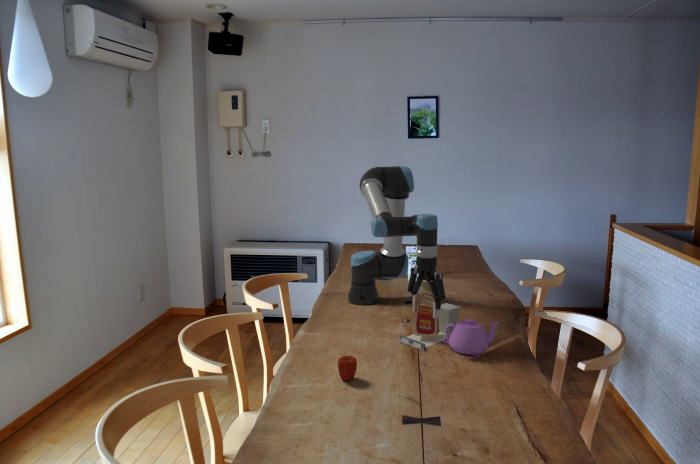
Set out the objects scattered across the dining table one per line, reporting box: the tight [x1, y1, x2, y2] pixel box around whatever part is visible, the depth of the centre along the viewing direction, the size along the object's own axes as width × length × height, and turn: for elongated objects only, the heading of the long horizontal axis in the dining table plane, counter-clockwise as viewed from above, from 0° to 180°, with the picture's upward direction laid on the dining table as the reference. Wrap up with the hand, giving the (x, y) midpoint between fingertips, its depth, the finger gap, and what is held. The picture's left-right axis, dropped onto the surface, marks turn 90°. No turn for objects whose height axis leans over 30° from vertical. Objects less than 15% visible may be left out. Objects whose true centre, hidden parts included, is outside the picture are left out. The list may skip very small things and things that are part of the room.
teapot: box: [442, 317, 501, 359], centre depth 193 cm, size 20×14×12 cm
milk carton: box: [414, 280, 440, 337], centre depth 204 cm, size 9×9×20 cm
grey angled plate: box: [398, 332, 450, 352], centre depth 207 cm, size 12×24×3 cm, turn 131°
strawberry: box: [337, 355, 358, 382], centre depth 173 cm, size 6×6×8 cm
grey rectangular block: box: [438, 302, 460, 335], centre depth 211 cm, size 6×6×10 cm
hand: (425, 313), depth 203 cm, fingers closed on milk carton, 9 cm apart
